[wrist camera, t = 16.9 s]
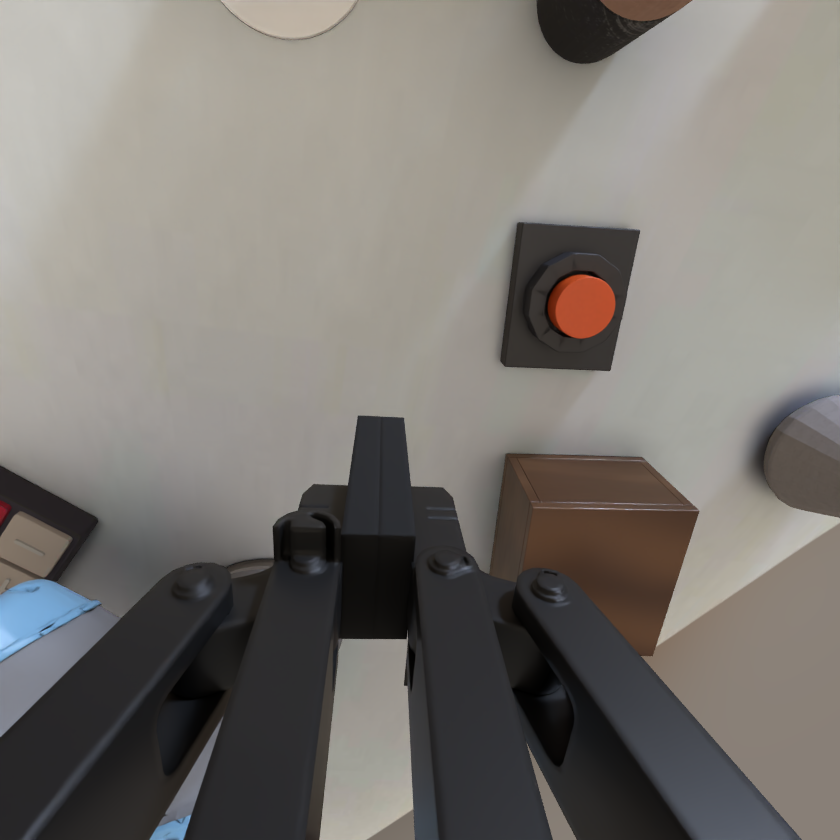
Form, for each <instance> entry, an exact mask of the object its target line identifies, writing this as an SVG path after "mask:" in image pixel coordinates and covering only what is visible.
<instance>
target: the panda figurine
mask: <svg viewBox="0 0 840 840" xmlns="http://www.w3.org/2000/svg"><path fill="white" fill-rule="evenodd" d="M221 1H222V3H223V4H224V5H225V6H226V7H227V8H228V9H229V10H230V11H231V12H232V13H233V14H234V15H235V16H236V17H237V18H238V19H240V20H241V21H242V22H244V23H245V24H247V25H248V26H249V27H251V28H253V29H255V30H257V31H259V32H261V33H263V34H265V35H268V36H272V37H275V38H280V39H287V40H300V39H307V38H311V37H315V36H317V35H320V34H322V33H324V32H326V31H328V30H330V29H331V28H333V27H334V26H336V25H337V24H338V23H339V22H340V21H342V20H343V19H344V18H345V17H346V16H347V14H348V13H349V12H350V11H351V10H352V8H353V7H354V6H355V4H356V3H357V1H358V0H221Z"/></svg>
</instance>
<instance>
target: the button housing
mask: <svg viewBox="0 0 840 840" xmlns="http://www.w3.org/2000/svg"><path fill="white" fill-rule="evenodd" d="M639 234H640V230H635V229H619V228H603V227H587V226H571V225H556V224H540V223H524V222H519V223H518V224H517V232H516V240H515V248H514V256H513V264H512V272H511V281H510V289H509V297H508V305H507V313H506V321H505V329H504V337H503V345H502V353H501V362H502V364H503V365H504V366H505V367H527V368H551V369H576V370H601V371H610V370H611V365H612V360H613V356H614V351H615V346H616V342H617V337H618V332H619V328H620V323H621V320H622V316H623V311H624V306H625V302H626V297H627V290H628V285H629V281H630V276H631V271H632V267H633V262H634V257H635V252H636V248H637V243H638V238H639ZM577 274H583V275H588V276H592V277H595V278H599V279H601V280H603V281H604V282H606V283H607V284H608V285H609V286H610V287H611V289H612V291H613V293H614V297H615V311H614V314H613V317H612V319H611V321H610V322H609V324H608V325H607V326H606V327H605V328H604V329H603V330H602V331H601V332H600V333H598V334H596V335H594V336H592V337H589V338H582V339H579V338H574V337H571V336H568V335H567V334H565V333H564V332H562V331H561V330H559V329H558V328H556V327H555V326H554V325H553V323H552V322H551V320H550V318H549V315H548V300H549V297H550V294H551V292H552V291H553V289H554V288H555V286H556V285H557V284H558V283H559V282H561V281H562V280H563V279H565V278H567V277H569V276H572V275H577Z"/></svg>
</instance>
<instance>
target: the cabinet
mask: <svg viewBox="0 0 840 840" xmlns="http://www.w3.org/2000/svg"><path fill="white" fill-rule="evenodd" d="M698 514H699V510H698V509H697V508H696V507H695V506H693V504H692V503H691V502H689V501H688V500H687V499H686V498H685V497H684V496H683V495H682V494H681V493H680V492H679V491H678V490H677V489H676V488H674V487H673V486H672V485H671V484H670V483H669V482H668V481H667V480H666V479H665V478H664V477H663V476H662V475H661V474H660V473H658V472H657V471H656V470H655V469H654V468H653V467H652V466H651V465H650V464H649V463H648V462H647V461H646V460H645V459H643V458H642V457H615V456H578V455H541V454H506V457H505V464H504V472H503V479H502V486H501V493H500V501H499V508H498V515H497V522H496V530H495V537H494V544H493V551H492V558H491V566H490V573H489V575H491V576H494V577H497V578H501V579H505V580H509V581H513V582H516V581H517V577H518V576H519V575H520V574H521V573H522V572H523V571H525V570H528V569H531V568H547V569H552V570H556V571H558V572H560V573H562V574H564V575H566V576H569V577H570V578H571V579H572V580H573V581H574V582H576V583H577V584H578V585H579V586H580V587H581V589H582V590H583V591H584V592H585V593H586V594H587V595H588V597H589V598H590V599H591V600H592V601H593V602H594V603H595V605H596V606H597V607H598V608H599V609H600V610H601V611H602V613H603V614H604V615H605V616H606V617H607V618H608V619H609V621H610V622H611V623H612V624H613V625H614V626H615V627H616V628H617V630H618V631H619V632H620V633H621V634H622V635H623V636H624V638H625V639H626V640H627V641H628V642H629V643H630V644H631V646H632V647H633V648H634V649H635V650H636V651H637V652H638V654H639V655H640V656H653V653H654V650H655V647H656V644H657V641H658V638H659V635H660V632H661V629H662V626H663V622H664V619H665V616H666V613H667V610H668V607H669V604H670V601H671V598H672V594H673V591H674V588H675V585H676V582H677V579H678V576H679V573H680V570H681V567H682V563H683V560H684V557H685V554H686V551H687V548H688V545H689V542H690V539H691V535H692V532H693V529H694V526H695V523H696V520H697V517H698Z"/></svg>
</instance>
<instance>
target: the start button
mask: <svg viewBox="0 0 840 840" xmlns="http://www.w3.org/2000/svg"><path fill="white" fill-rule="evenodd" d="M614 311H615V297H614V293H613V291H612V289H611V287H610V286H609V285H608V284H607V283H606V282H604V281H603V280H601V279H599V278H595V277H592V276H588V275H583V274H577V275H572V276H569V277H567V278H565V279H563V280H562V281H561V282H559V283H558V284H557V285H556V286H555V288H554V289H553V291H552V292H551V294H550V297H549V300H548V315H549V318H550V320H551V322H552V323H553V325H554V326H555V327H556V328H558V329H559V330H561V331H562V332H564V333H565V334H567V335H568V336H571V337H574V338H579V339H582V338H589V337H592V336H594V335H596V334H598V333H600V332H601V331H602V330H603V329H604V328H605V327H606V326H607V325H608V324H609V322H610V321H611V319H612V317H613V314H614Z"/></svg>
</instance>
